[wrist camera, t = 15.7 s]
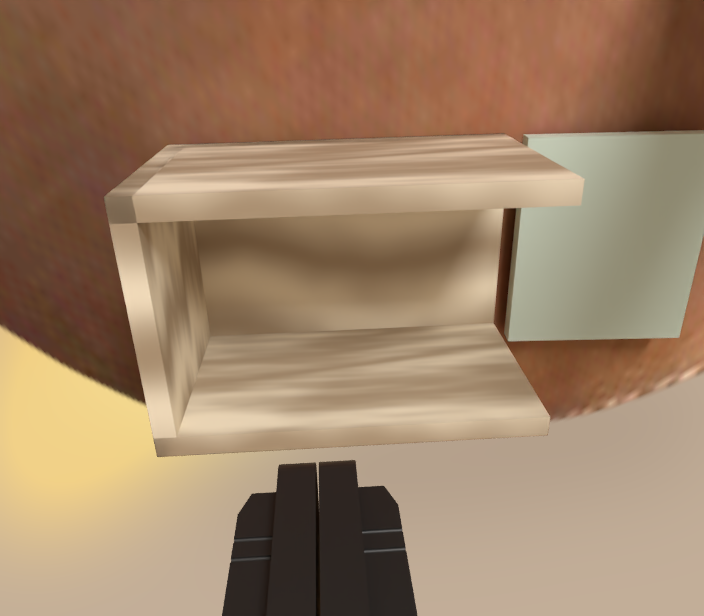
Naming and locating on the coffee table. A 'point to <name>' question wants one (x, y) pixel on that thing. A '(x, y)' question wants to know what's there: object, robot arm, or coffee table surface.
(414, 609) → the robot arm
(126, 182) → the box
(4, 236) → the coffee table surface
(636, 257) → the flat panel
